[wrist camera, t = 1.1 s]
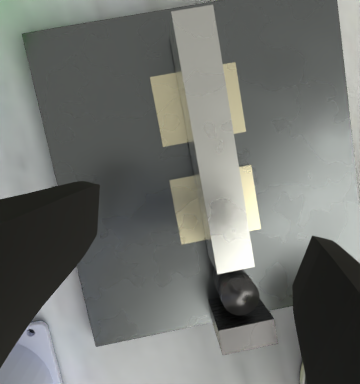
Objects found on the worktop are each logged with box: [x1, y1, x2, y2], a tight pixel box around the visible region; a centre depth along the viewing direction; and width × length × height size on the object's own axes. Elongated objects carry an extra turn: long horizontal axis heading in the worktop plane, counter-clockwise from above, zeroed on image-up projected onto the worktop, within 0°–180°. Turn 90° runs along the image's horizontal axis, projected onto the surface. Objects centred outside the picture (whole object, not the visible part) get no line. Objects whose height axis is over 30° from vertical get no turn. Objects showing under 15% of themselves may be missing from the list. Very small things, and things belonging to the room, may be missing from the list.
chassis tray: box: [22, 0, 360, 355], centre depth 18 cm, size 18×19×5 cm
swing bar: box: [169, 5, 259, 315], centre depth 17 cm, size 2×16×3 cm, turn 10°
